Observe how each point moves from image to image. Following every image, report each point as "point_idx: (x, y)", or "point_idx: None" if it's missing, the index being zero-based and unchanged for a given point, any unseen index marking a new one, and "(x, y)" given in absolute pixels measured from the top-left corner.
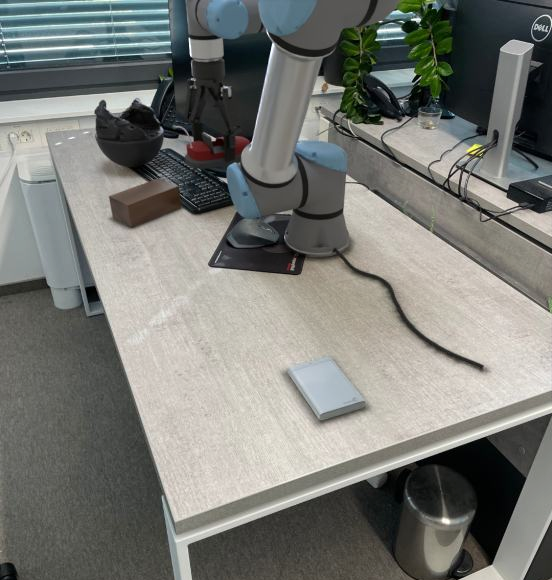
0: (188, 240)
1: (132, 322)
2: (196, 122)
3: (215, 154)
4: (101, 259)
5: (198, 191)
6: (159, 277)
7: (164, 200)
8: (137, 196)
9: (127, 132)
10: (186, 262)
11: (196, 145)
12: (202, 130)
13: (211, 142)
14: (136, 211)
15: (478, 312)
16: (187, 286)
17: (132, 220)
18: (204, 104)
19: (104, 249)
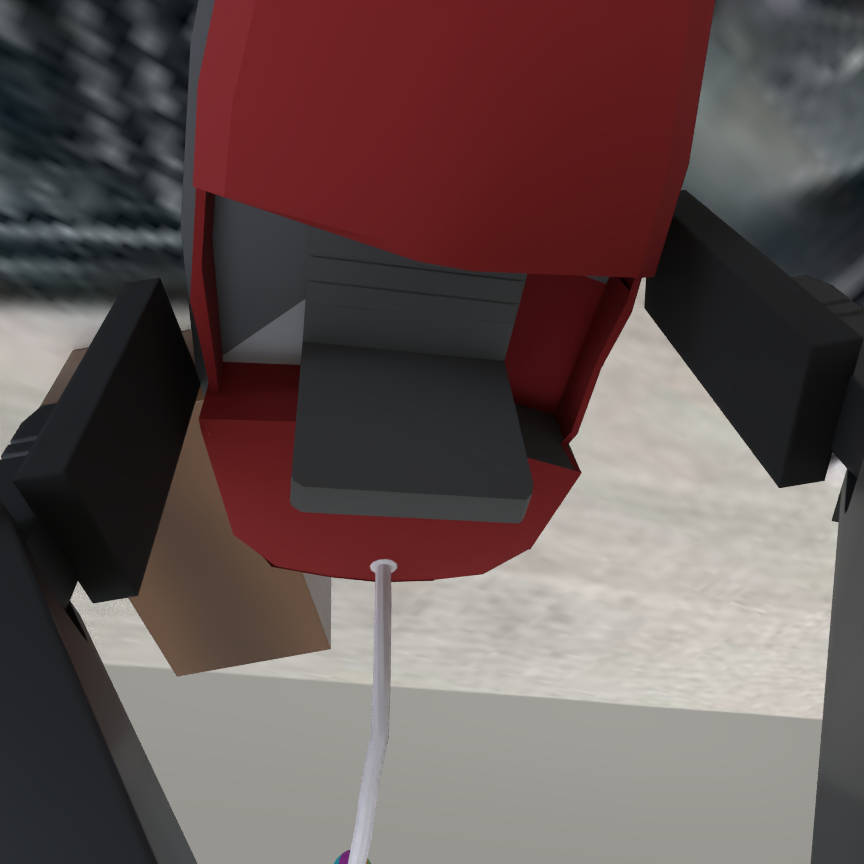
0: (594, 444)
1: (813, 692)
2: (50, 548)
3: (578, 398)
4: (486, 676)
5: (39, 89)
6: (716, 600)
7: None
8: (255, 598)
9: None
10: (720, 514)
11: (380, 527)
12: (105, 403)
13: (523, 458)
14: (321, 586)
15: None
16: (828, 563)
17: (329, 579)
18: (145, 813)
19: (431, 659)
